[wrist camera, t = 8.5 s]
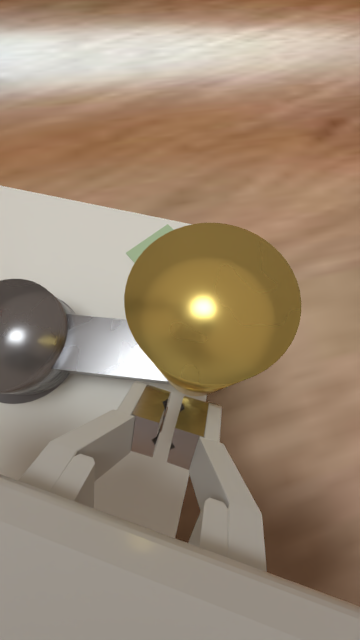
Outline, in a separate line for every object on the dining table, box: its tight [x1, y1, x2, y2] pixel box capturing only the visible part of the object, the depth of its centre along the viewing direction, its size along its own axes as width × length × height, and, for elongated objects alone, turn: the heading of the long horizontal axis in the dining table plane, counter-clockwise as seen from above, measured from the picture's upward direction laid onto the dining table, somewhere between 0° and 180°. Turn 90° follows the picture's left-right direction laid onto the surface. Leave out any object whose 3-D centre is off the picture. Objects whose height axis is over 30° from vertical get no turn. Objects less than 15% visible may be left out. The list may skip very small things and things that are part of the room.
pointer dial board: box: [0, 186, 227, 538], centre depth 16 cm, size 25×24×2 cm
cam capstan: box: [0, 223, 301, 396], centre depth 10 cm, size 15×6×10 cm, turn 84°
